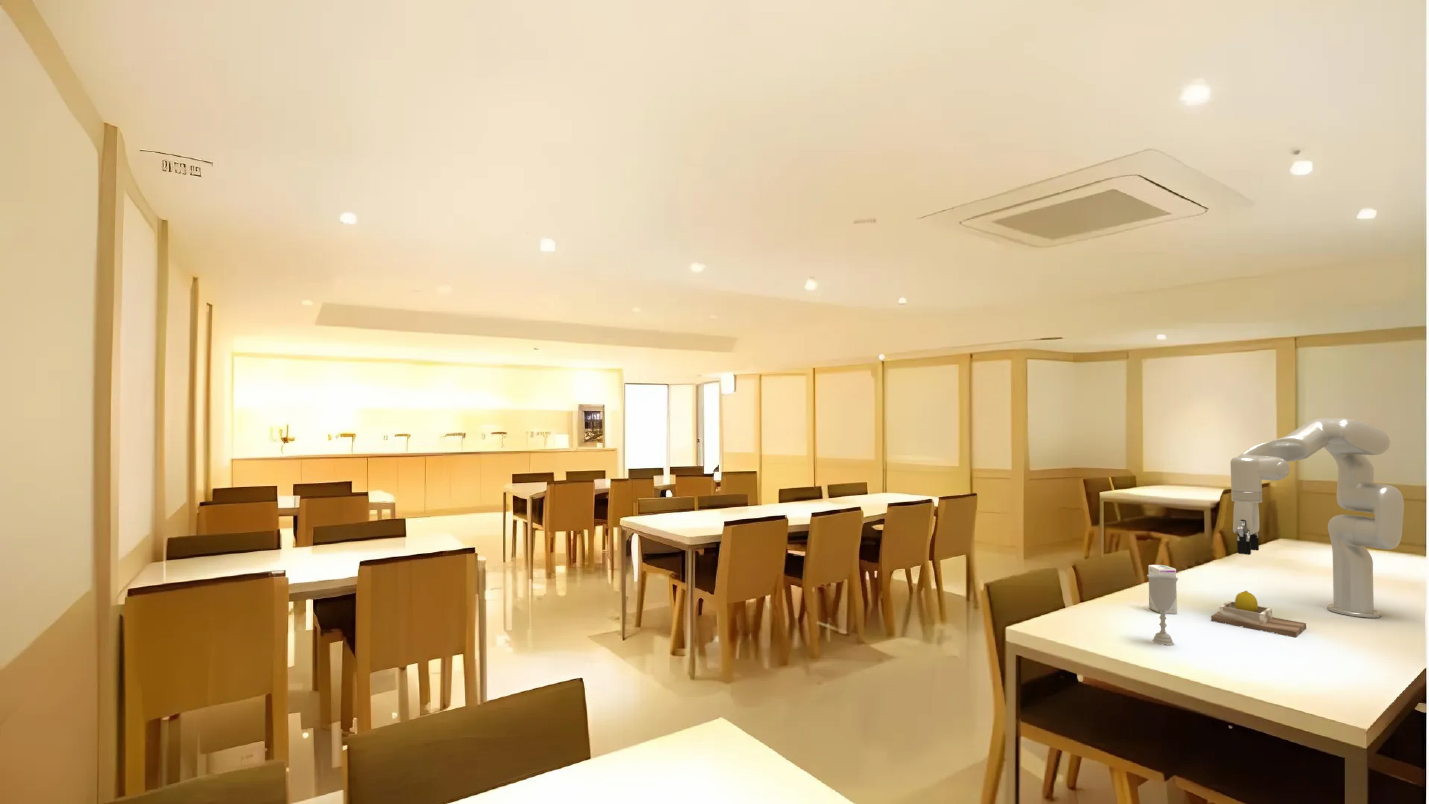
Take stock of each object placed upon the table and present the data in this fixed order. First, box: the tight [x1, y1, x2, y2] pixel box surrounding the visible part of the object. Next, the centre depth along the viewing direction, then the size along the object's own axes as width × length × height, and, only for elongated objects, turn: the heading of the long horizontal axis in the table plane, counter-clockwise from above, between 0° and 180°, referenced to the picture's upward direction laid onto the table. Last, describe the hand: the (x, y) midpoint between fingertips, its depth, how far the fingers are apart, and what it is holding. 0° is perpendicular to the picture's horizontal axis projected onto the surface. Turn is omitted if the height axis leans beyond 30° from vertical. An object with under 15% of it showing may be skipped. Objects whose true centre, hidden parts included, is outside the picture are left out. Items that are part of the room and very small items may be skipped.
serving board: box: [1210, 600, 1307, 638], centre depth 204 cm, size 14×20×4 cm
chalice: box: [1146, 573, 1179, 646], centre depth 186 cm, size 7×7×18 cm
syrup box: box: [1148, 564, 1178, 615], centre depth 217 cm, size 6×6×14 cm
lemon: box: [1234, 590, 1259, 612], centre depth 206 cm, size 6×6×8 cm
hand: (1248, 551), depth 209 cm, fingers open, 9 cm apart
